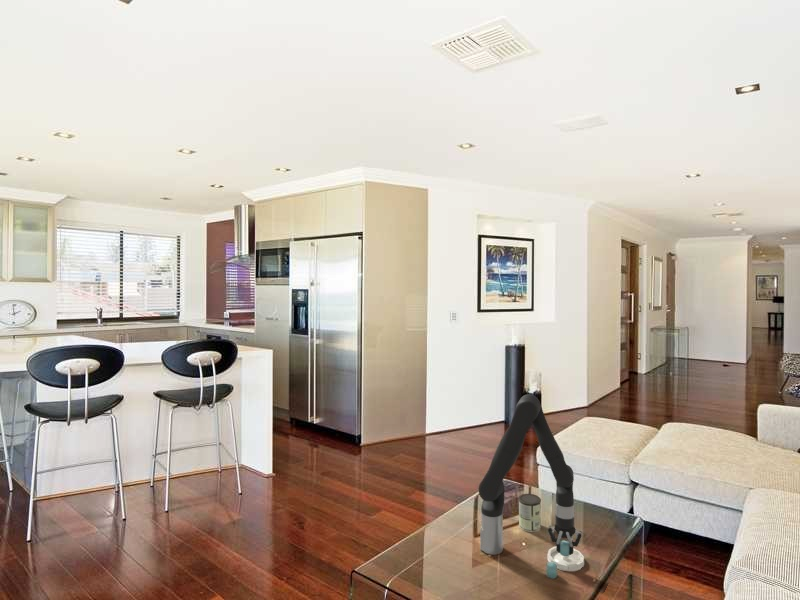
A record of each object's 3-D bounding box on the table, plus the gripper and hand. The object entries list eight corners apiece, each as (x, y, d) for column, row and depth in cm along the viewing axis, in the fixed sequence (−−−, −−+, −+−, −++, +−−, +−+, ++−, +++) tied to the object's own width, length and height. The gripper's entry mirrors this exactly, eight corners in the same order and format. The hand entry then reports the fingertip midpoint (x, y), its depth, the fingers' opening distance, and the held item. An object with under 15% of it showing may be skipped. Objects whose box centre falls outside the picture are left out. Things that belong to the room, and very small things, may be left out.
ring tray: (544, 566, 218) (544, 561, 218) (550, 547, 232) (550, 542, 232) (582, 574, 212) (582, 569, 212) (585, 554, 226) (585, 549, 225)
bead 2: (559, 555, 217) (559, 544, 216) (560, 549, 220) (560, 539, 220) (569, 557, 215) (569, 546, 215) (570, 551, 219) (570, 541, 218)
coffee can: (522, 519, 257) (522, 491, 255) (543, 524, 251) (543, 496, 250) (515, 528, 248) (515, 500, 247) (536, 534, 242) (536, 505, 241)
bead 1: (545, 577, 211) (545, 566, 211) (547, 571, 215) (547, 561, 214) (556, 579, 210) (556, 569, 209) (557, 573, 213) (557, 563, 213)
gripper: (545, 514, 216) (546, 554, 217) (581, 521, 210) (582, 561, 211) (548, 506, 222) (548, 544, 224) (583, 512, 217) (583, 551, 218)
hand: (564, 552), depth 218 cm, fingers closed on bead 2, 4 cm apart
